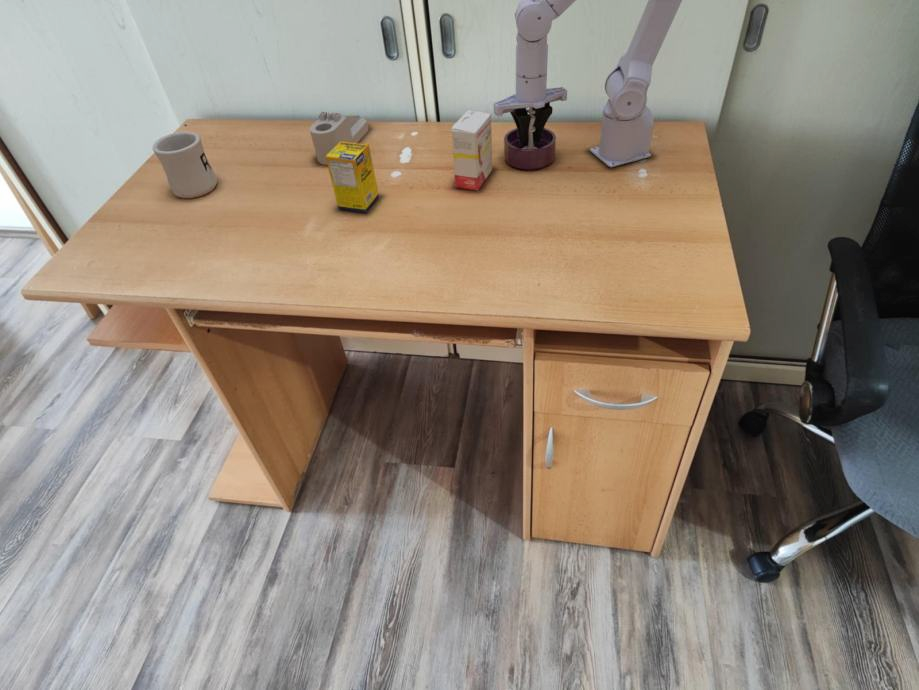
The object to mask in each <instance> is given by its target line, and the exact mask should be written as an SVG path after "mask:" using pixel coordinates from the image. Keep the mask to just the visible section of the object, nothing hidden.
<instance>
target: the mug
mask: <svg viewBox="0 0 919 690" xmlns="http://www.w3.org/2000/svg"><path fill="white" fill-rule="evenodd" d="M152 151H153V153H154V154H155V156H156V158H157V159H158V161H159V163H160V164H161V167H162V169H163V171H164V174H165V176H166V179H167V181H168V186H169V188H170V190H171V192H172V194H173V195H175V196H176V197H179V198H181V199H194V198H199V197H202V196H205V195H207V194H209V193H210V192H211V191H213V190H214V189H215V188H216V186H217V184H218V177H217V175H216V173H215V171H214V170H213V168H212V166H211V164H210V162H209V160H208V158H207V155H206V153H205V150H204V146H203V143H202V139H201V136H200V135H199V134H198V133H196V132H193V131H177V132H173V133H170V134H166V135H165V136H162V137H160V138H158V139H157V140H156V141H155V142H154V143H153V145H152Z"/></svg>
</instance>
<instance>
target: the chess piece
mask: <svg viewBox="0 0 919 690" xmlns="http://www.w3.org/2000/svg"><path fill="white" fill-rule="evenodd" d="M526 110H527V111H528V114H529V115H530V116H531V120H530V125H529V140H528V146H526V147H524V148H522V149H536V148H535V147H534V143H533V132H534V131H535V130H536V129H535V127H533V125H534V121H535V119H536V117H535V116H534V115H532V114H535V111H533V110H532V107H530V108H526Z"/></svg>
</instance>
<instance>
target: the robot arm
mask: <svg viewBox="0 0 919 690" xmlns="http://www.w3.org/2000/svg"><path fill="white" fill-rule="evenodd" d="M576 1H577V0H520V1H519V3H517V7H516V9H515V12H514V19H515V22H516V23H515V24H516V29H517V33H516V45H515V94H513V95H512V94H511V95H510V96H508V97H506V98H503V99H501V100H498V101H496V102H493V114H494V115H495V116H497V117H502V116H503V115H504V114H508V113H510V115H511V117H512V119H513V121H514V123H515V126H516V128H517V129H518V133H519V137H520V143H521V144H522V145H523V146H528V140H529V125H530V120H531V116H530V115H529V113H528V111H527V109H529V108H530V107H532V110H533V111H535V114H532V115H534V116H535V117H536V119H535V121H534V125H533V127H535V129H536V130H535V131H534V132H533V141H534V142H535V143H539V142H540V138H541V135H542V132H543V129H544V128H545V126H546V124H547V122H548V120H549V118H550V117H551V116H552V114H553V106H551V105H550V104H551V103H554V102H558V101H561V102H565V101H567V100H568V89H566V87H563V86H559V87H549V88H547V85H548V84H547V83H548V62H549V61H548V60H549V44H548V35H549V33H550V32H551V29H552V25H553V21H555V20H557V19H558V18H560V16H562V14H563V13H564V12H566V11H567V10H568V9H569V8H570V7H571V6H572V5H573V4H574V3H575V2H576ZM682 2H683V0H647V3H646V5H645V7H644V9H643V13H642V14H641V17H640V19H639V22H638V24H637V26H636V29H635V31H634V34H633V36H632V38H631V41H630V44H629V46H628V48H627V51H626V53H624V54H623V55H622V56H621V57H620V58H619V60H618V63H617V64H616V66H615V67H614V68H613V70H612V71H611V72H610V73H609V74H608V75H607V77H606V78H605V82H604V91H605V94H606V95H607V97H608V99H607V101H606V103H605V104H604V106H603V110H602V119H601V127H600V137H599V145H598V146H594V147H590V148H589V152H590V153H591V154H593V155H594V156H595V157H596V158H597V159H599V160H600V162H603V164H604V165H606V166H607V167H609V168H614V167H618V166H622V165H626V164H629V163H633V162H636V161H640V160H643V159H647V158H651V156H652V153H651V152H650V147H651V143H652V137H653V132H654V131H653V130H654V126H655V125H654V124H655V123H654V122H655V121H654V115H653V112H652V110H651V109H650V108H649V107H648V106H647V101H648V100H647V99H648V96H647V93H648V89H649V87H650V85H651V83H652V72H653V66H654V63H655V61H656V59H657V56H658V54H659V52H660V51H661V48H662V46H663V43H664V41H665V39H666V36H667V35H668V32H669V30H670V28H671V26H672V23H673V21H674V19H675V17H676V15H677V13H678V10H679V8H680V6H681V4H682Z"/></svg>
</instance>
